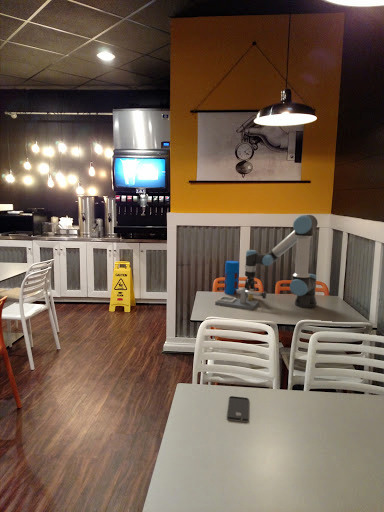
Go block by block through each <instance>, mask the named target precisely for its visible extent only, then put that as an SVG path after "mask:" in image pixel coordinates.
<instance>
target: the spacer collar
mask: <svg viewBox="0 0 384 512" xmlns="http://www.w3.org/2000/svg"><path fill="white" fill-rule="evenodd" d="M248 300H250V301H254V295H248Z"/></svg>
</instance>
